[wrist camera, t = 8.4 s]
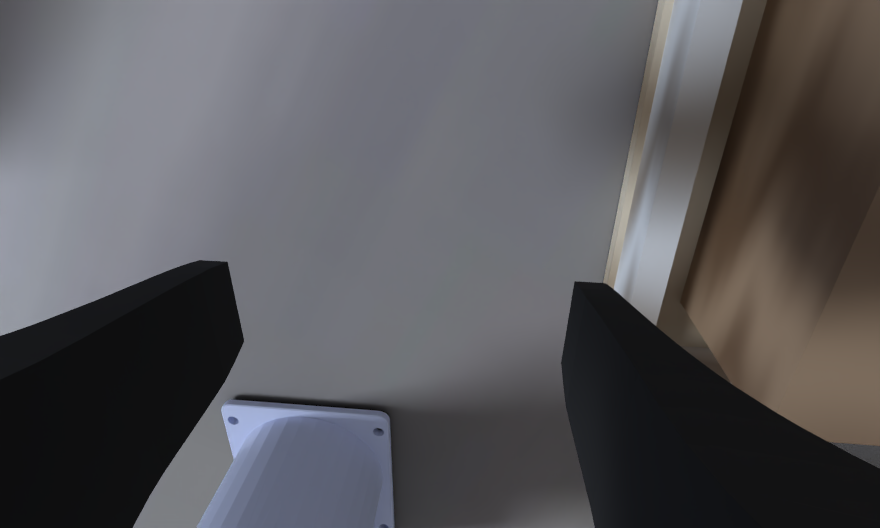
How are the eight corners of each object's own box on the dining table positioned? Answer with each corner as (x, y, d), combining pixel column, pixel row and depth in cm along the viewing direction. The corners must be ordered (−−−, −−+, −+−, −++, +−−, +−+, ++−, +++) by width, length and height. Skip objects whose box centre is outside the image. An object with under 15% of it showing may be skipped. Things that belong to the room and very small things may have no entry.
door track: (816, 366, 20) (859, 413, 18) (589, 351, 21) (601, 395, 18) (1106, -243, 11) (1258, -303, 9) (705, -236, 12) (755, -292, 10)
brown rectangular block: (778, 307, 18) (910, 448, 12) (680, 302, 18) (765, 436, 13) (937, -89, 13) (1310, -165, 7) (793, -90, 13) (1036, -164, 7)
